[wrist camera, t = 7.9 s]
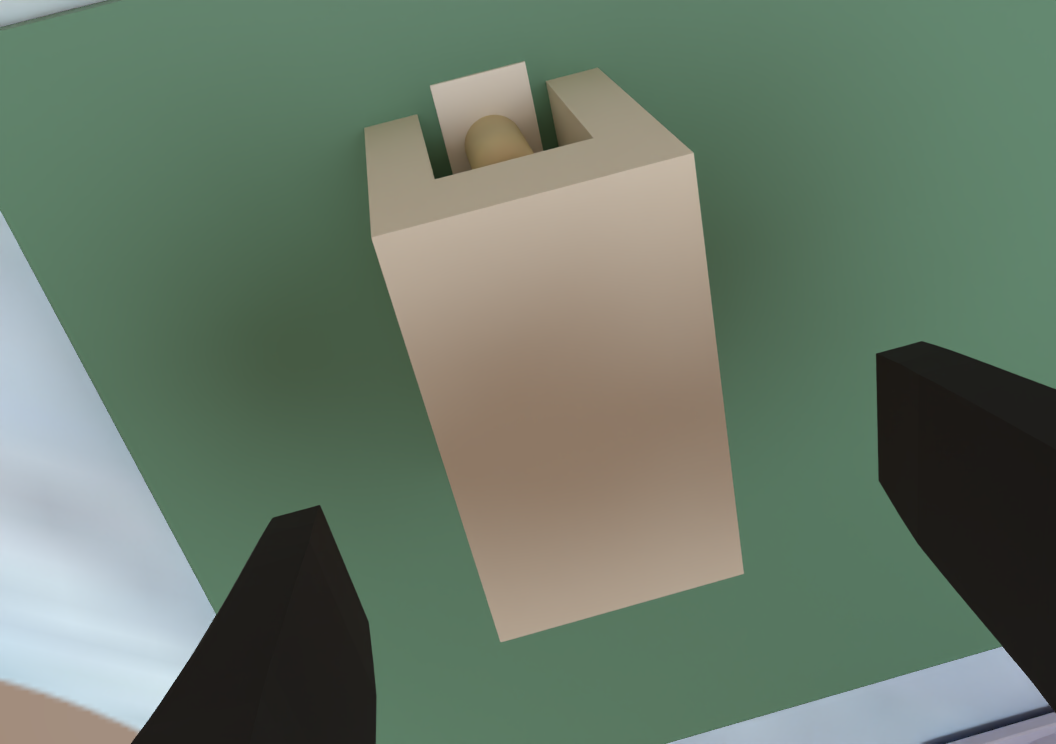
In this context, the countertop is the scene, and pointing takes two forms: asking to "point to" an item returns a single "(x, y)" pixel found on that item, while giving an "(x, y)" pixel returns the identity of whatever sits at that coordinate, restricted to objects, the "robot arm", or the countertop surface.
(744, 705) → the header board
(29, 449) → the countertop surface
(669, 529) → the beige u-shaped channel block
